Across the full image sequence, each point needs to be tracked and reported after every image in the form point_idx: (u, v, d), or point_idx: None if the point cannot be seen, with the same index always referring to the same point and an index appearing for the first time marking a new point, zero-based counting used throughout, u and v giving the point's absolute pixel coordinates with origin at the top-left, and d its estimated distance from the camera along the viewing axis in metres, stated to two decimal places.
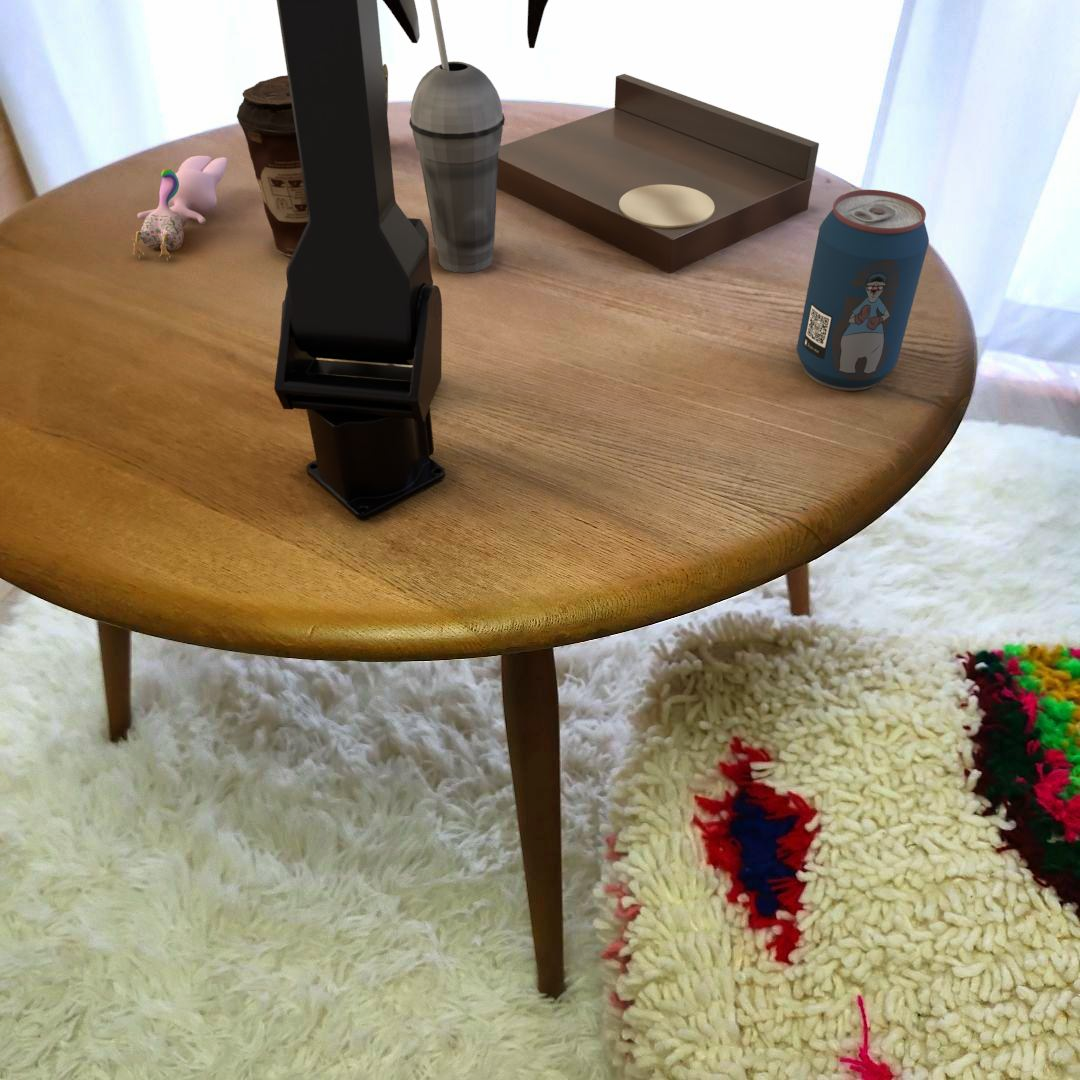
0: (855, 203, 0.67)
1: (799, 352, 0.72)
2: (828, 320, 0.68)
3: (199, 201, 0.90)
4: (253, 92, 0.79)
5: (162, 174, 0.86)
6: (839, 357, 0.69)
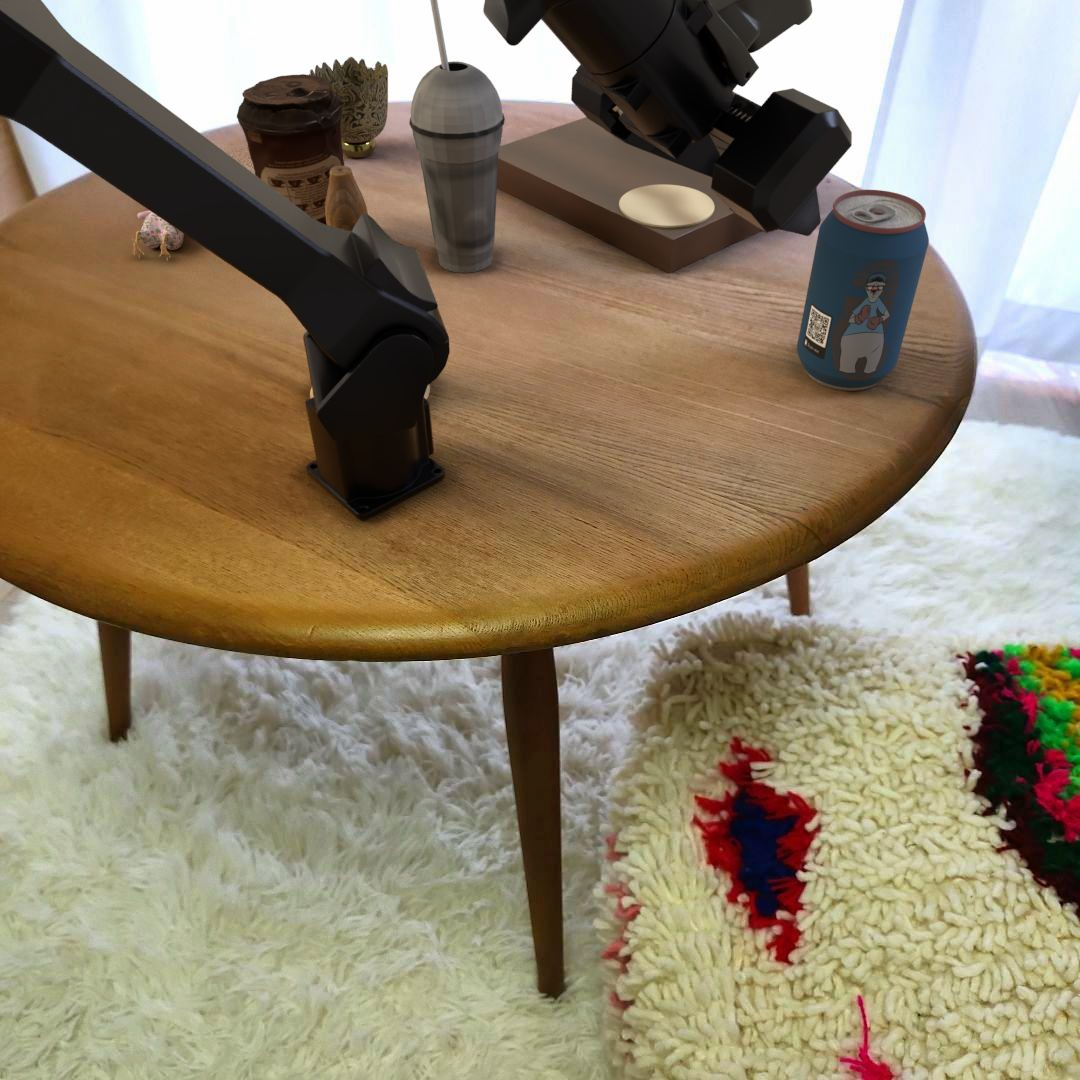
0: (855, 203, 0.67)
1: (799, 352, 0.72)
2: (828, 320, 0.68)
3: None
4: (253, 92, 0.79)
5: None
6: (839, 357, 0.69)
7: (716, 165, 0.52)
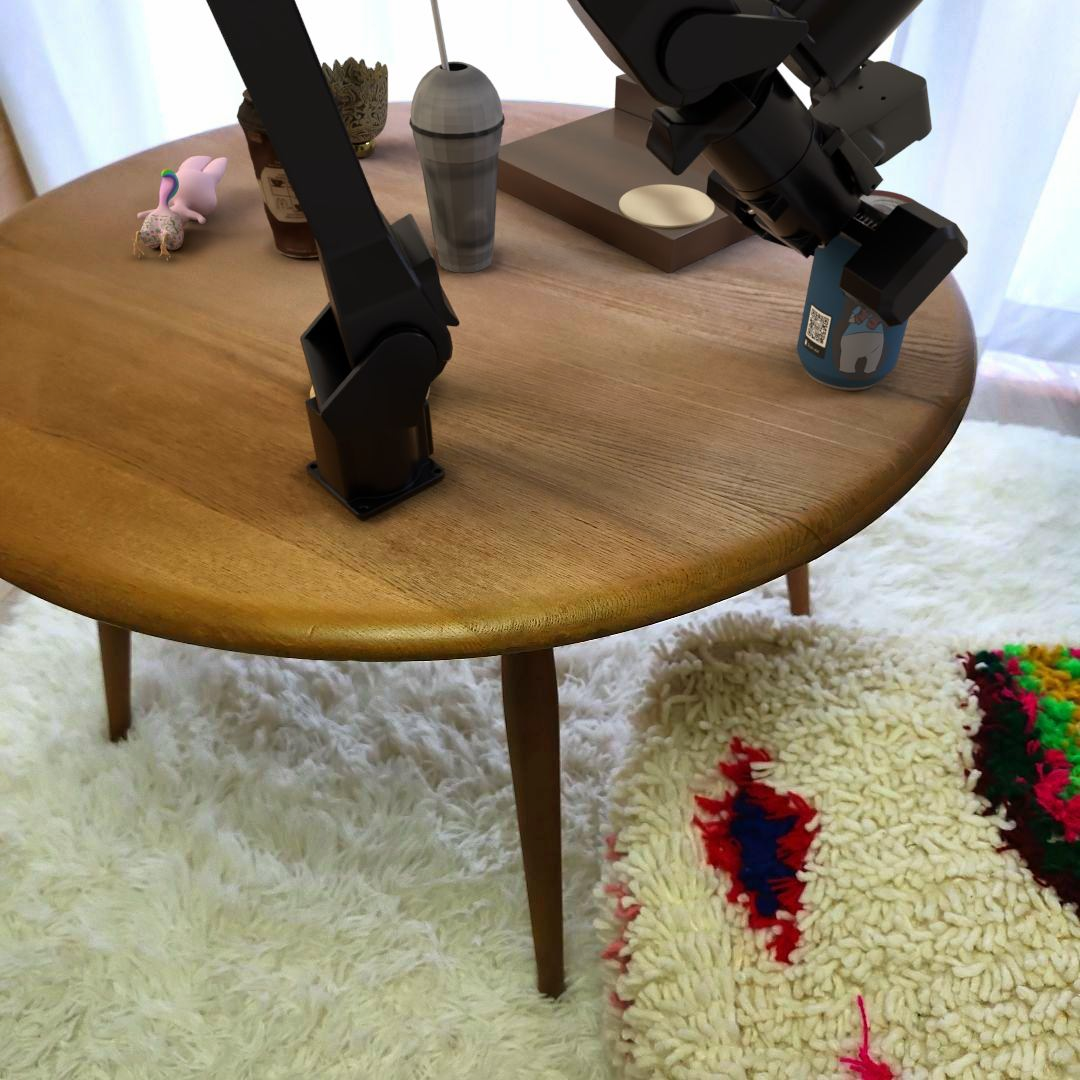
0: None
1: (799, 352, 0.72)
2: (827, 320, 0.68)
3: (199, 201, 0.90)
4: None
5: (162, 174, 0.86)
6: (839, 357, 0.69)
7: (845, 268, 0.59)
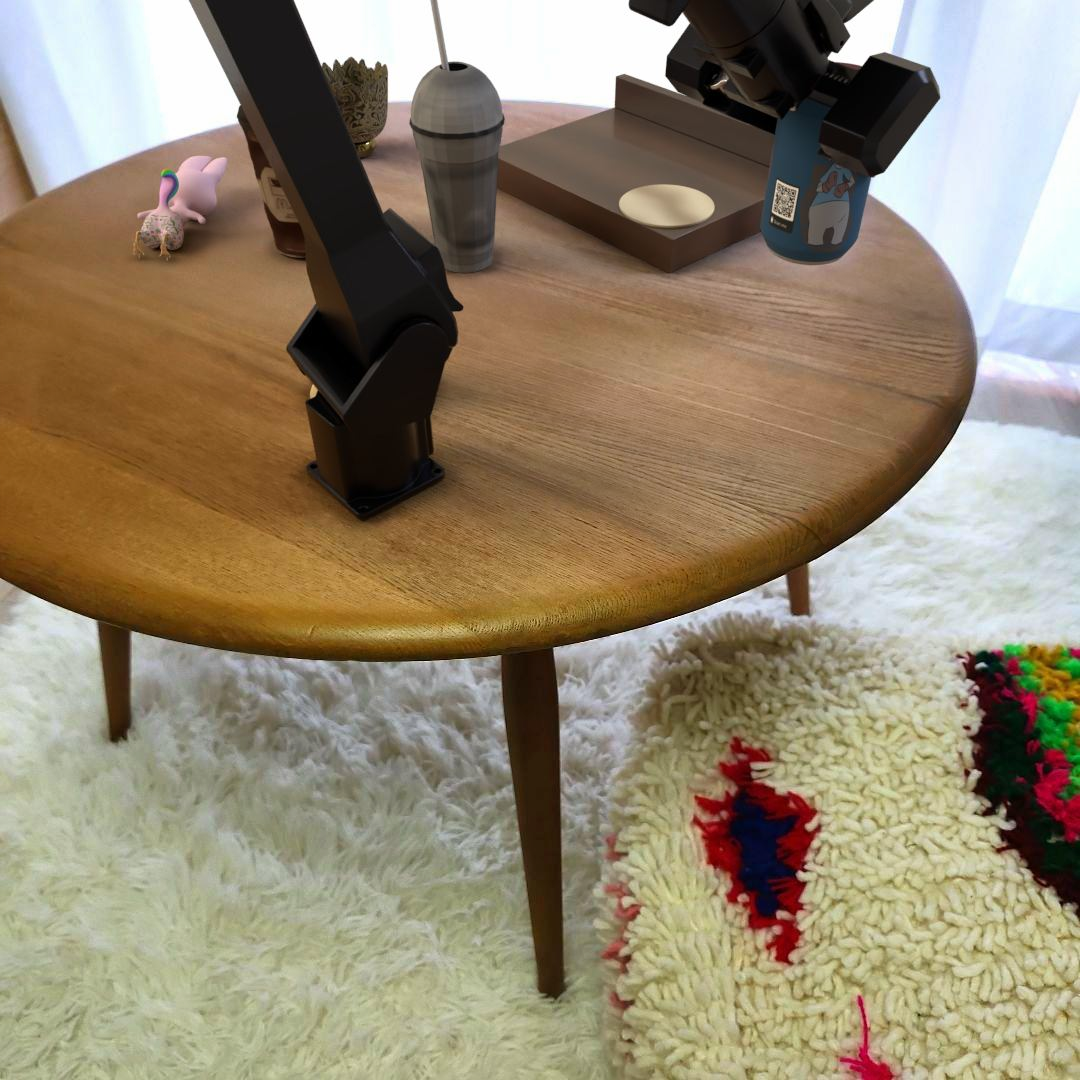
0: None
1: (764, 231, 0.73)
2: (795, 192, 0.69)
3: (199, 201, 0.90)
4: None
5: (162, 174, 0.86)
6: (807, 230, 0.70)
7: (824, 122, 0.60)
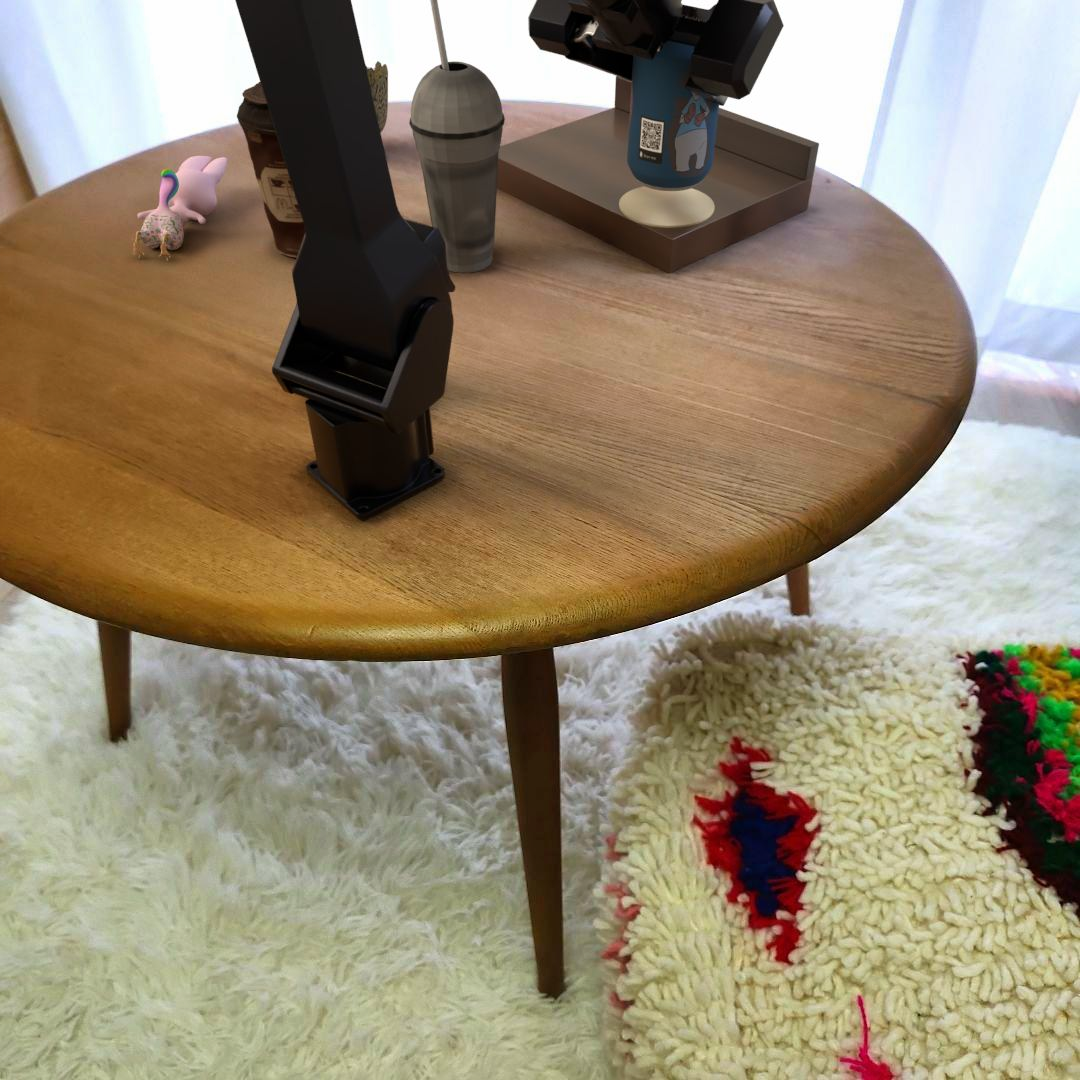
0: None
1: (634, 166, 0.82)
2: (660, 126, 0.78)
3: (199, 201, 0.90)
4: (253, 92, 0.79)
5: (162, 174, 0.86)
6: (675, 158, 0.80)
7: (694, 56, 0.69)
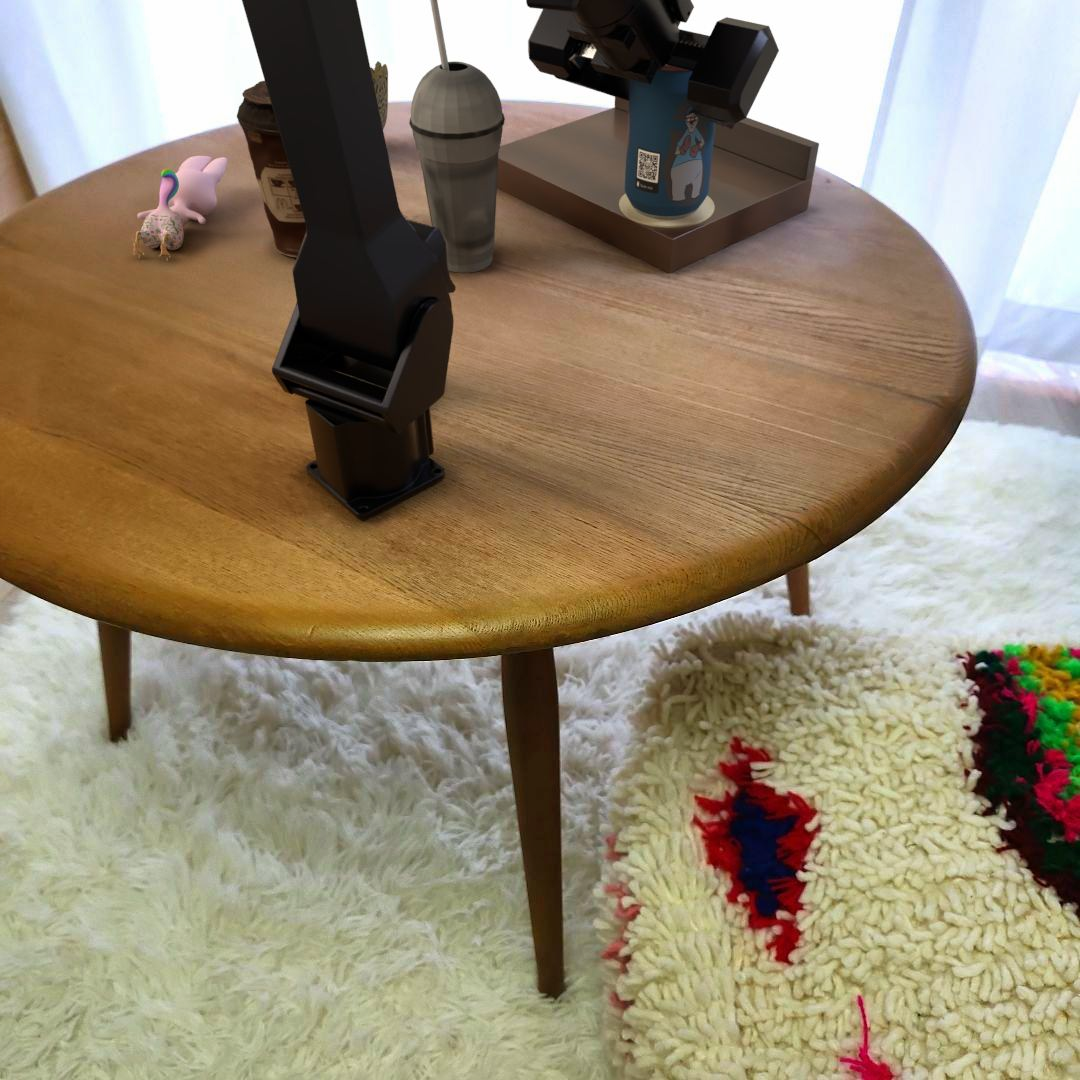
0: None
1: (632, 195, 0.84)
2: (657, 157, 0.80)
3: (199, 201, 0.90)
4: (253, 92, 0.79)
5: (162, 174, 0.86)
6: (671, 188, 0.82)
7: (691, 81, 0.71)
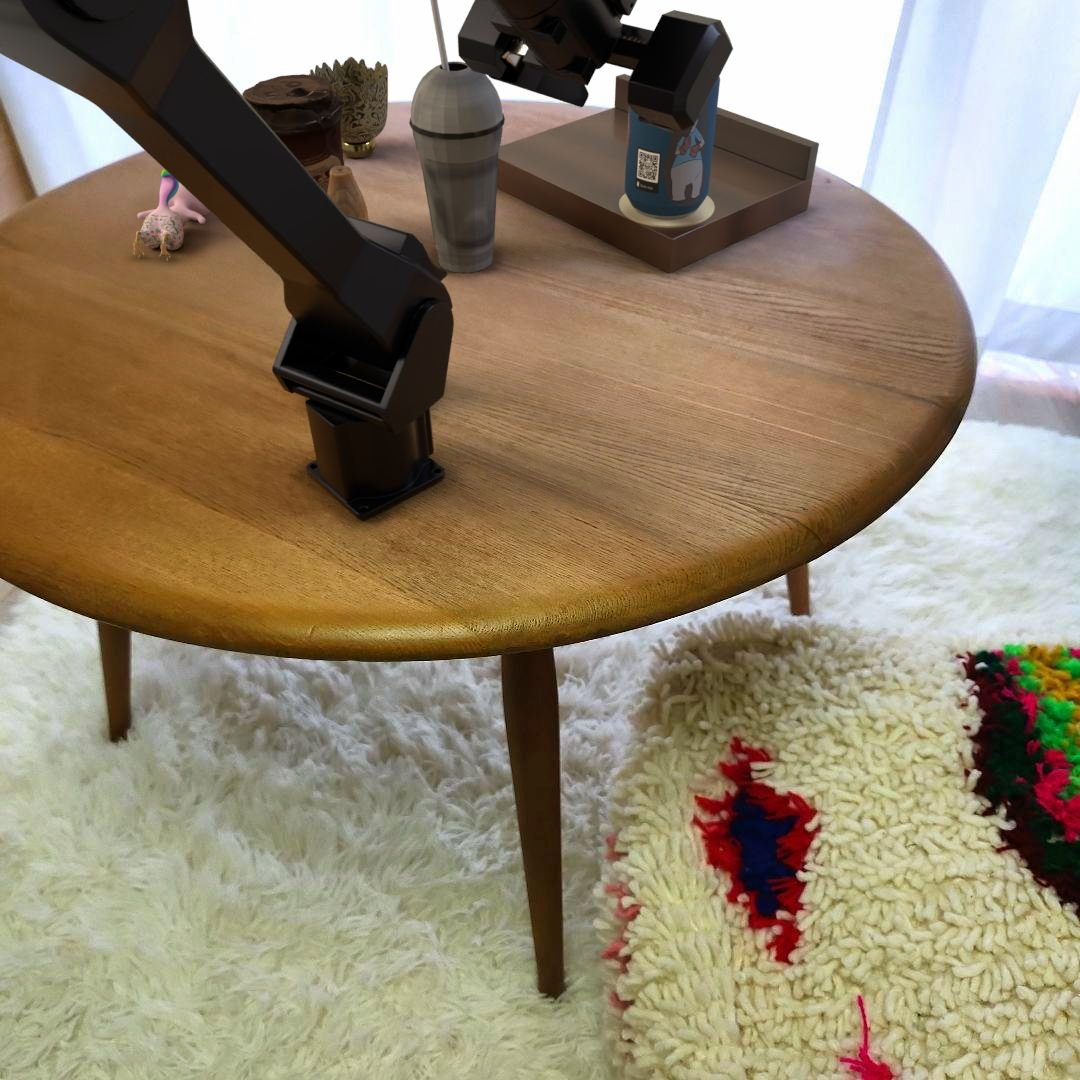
0: None
1: (632, 195, 0.84)
2: (657, 157, 0.80)
3: (199, 201, 0.90)
4: (253, 92, 0.79)
5: (162, 174, 0.86)
6: (671, 188, 0.82)
7: (631, 82, 0.62)
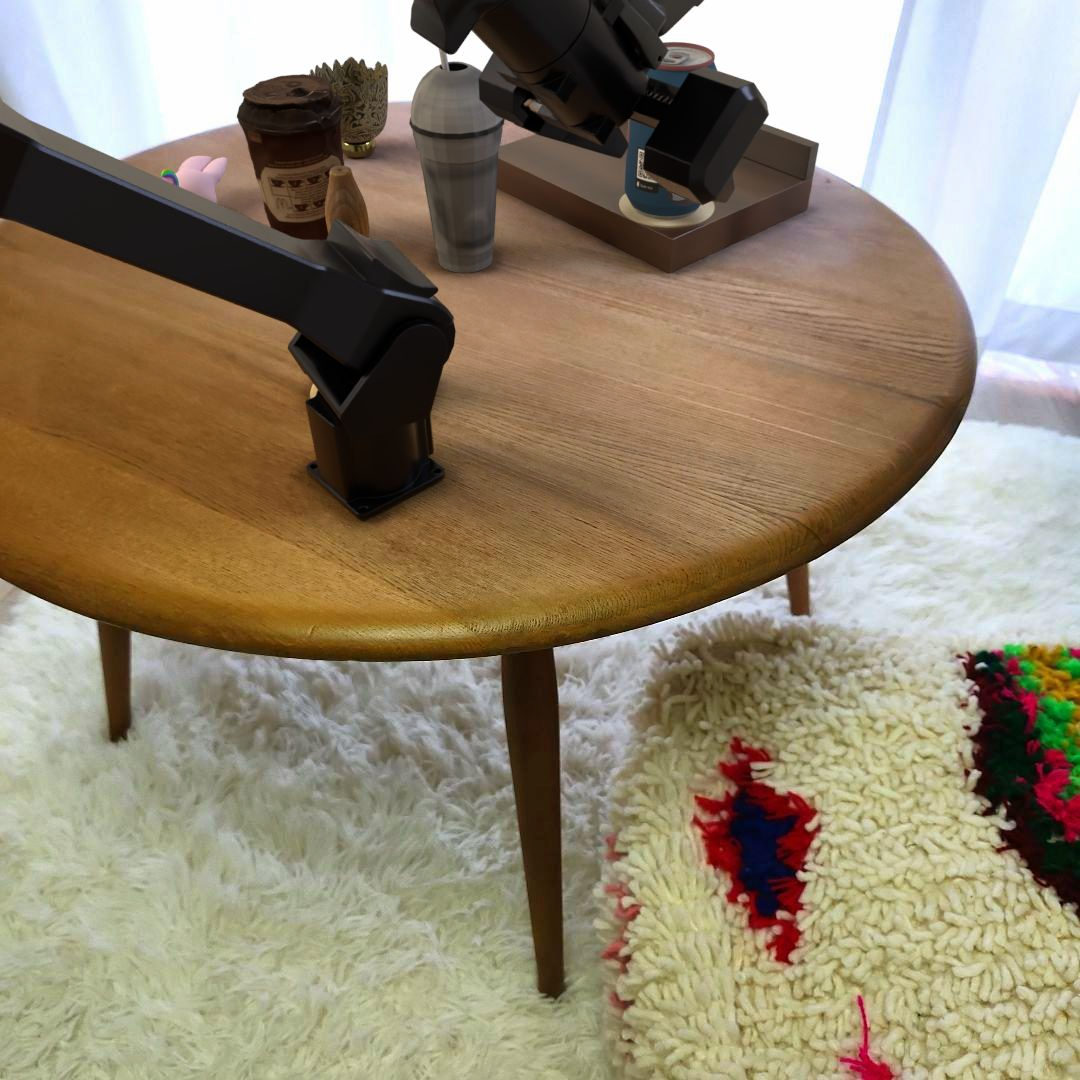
0: None
1: (632, 195, 0.84)
2: None
3: None
4: (253, 92, 0.79)
5: (162, 174, 0.86)
6: None
7: (647, 147, 0.54)
